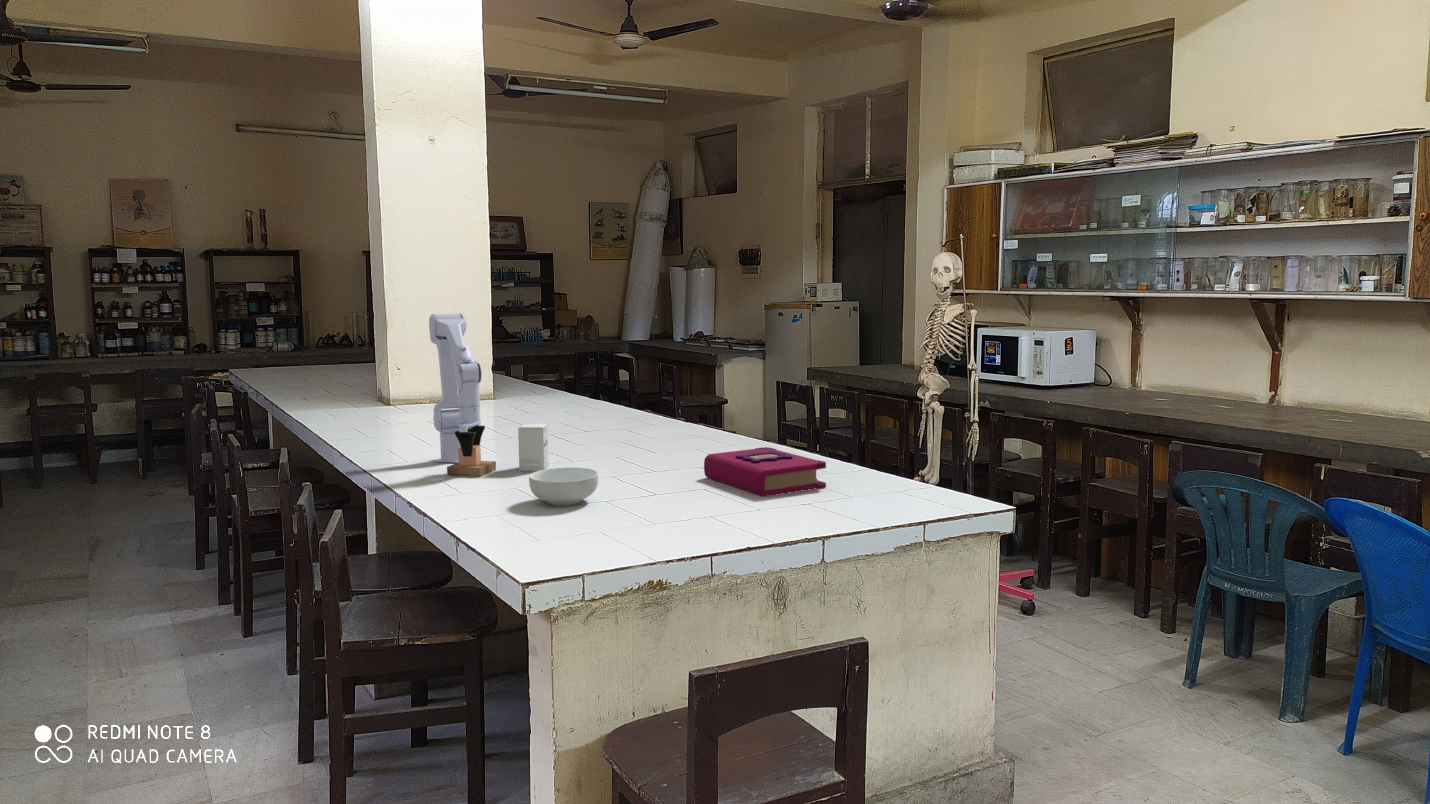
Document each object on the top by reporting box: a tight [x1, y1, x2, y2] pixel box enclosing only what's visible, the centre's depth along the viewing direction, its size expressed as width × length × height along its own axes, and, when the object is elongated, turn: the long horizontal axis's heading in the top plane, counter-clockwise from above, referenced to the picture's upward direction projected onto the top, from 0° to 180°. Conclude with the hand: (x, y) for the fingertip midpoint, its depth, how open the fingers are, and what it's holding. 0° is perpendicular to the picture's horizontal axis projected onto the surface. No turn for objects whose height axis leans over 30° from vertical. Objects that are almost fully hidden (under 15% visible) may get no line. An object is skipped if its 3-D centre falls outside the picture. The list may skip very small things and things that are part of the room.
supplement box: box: [517, 423, 549, 472], centre depth 281 cm, size 7×7×13 cm
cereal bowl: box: [528, 466, 599, 506], centre depth 239 cm, size 17×17×7 cm
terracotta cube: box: [458, 444, 482, 466], centre depth 276 cm, size 5×5×5 cm
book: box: [703, 446, 827, 497], centre depth 260 cm, size 21×28×8 cm
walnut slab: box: [446, 460, 497, 478], centre depth 276 cm, size 10×10×3 cm
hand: (471, 453), depth 276 cm, fingers open, 7 cm apart
